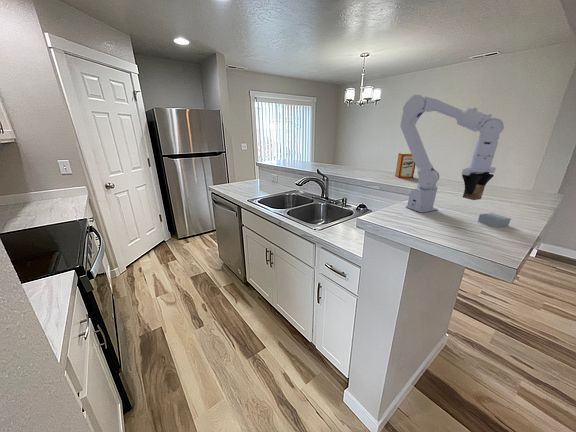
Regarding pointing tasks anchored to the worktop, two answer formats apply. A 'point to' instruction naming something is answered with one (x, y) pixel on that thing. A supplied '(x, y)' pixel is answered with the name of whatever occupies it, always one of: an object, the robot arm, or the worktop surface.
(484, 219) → the slate slab
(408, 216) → the worktop surface
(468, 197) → the walnut block
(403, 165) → the baking soda box
